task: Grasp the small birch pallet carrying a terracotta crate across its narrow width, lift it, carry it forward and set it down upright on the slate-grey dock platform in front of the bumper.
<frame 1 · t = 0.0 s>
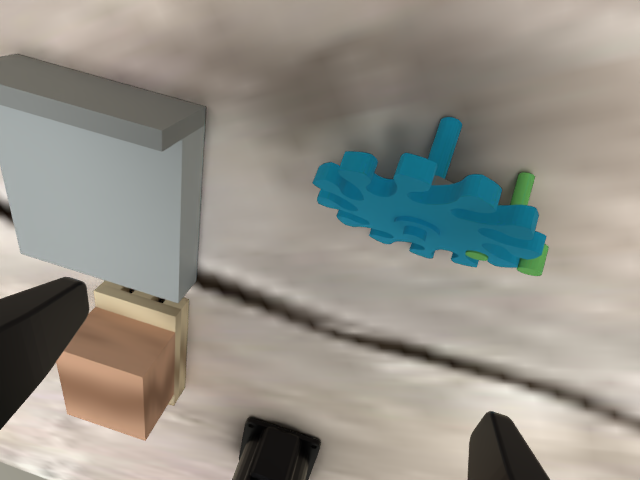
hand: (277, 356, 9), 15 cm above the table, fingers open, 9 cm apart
loaded pallet: (151, 334, 33), on the table
gear: (430, 186, 22), on the table
dock: (117, 187, 26), on the table
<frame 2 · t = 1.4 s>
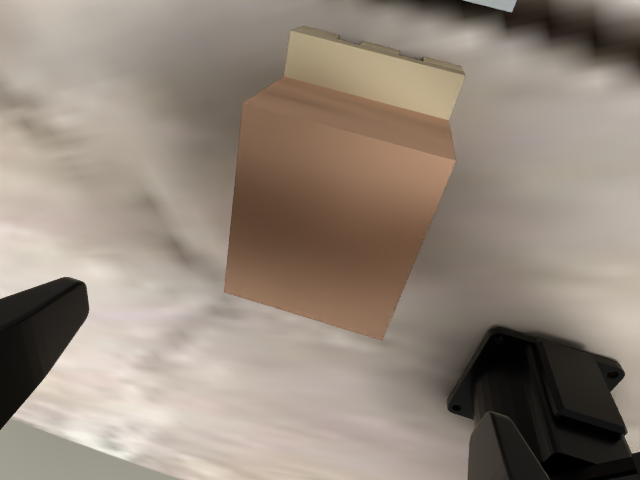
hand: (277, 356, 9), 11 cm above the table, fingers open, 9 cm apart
loaded pallet: (349, 167, 18), on the table
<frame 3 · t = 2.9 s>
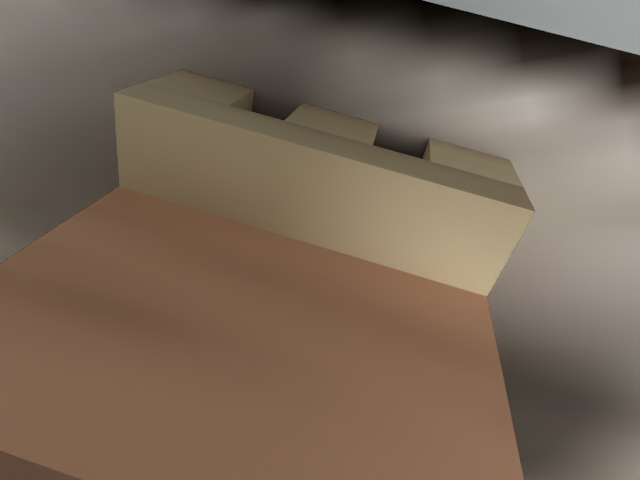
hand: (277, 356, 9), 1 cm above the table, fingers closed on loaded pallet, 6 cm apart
loaded pallet: (293, 316, 10), on the table, touching gripper
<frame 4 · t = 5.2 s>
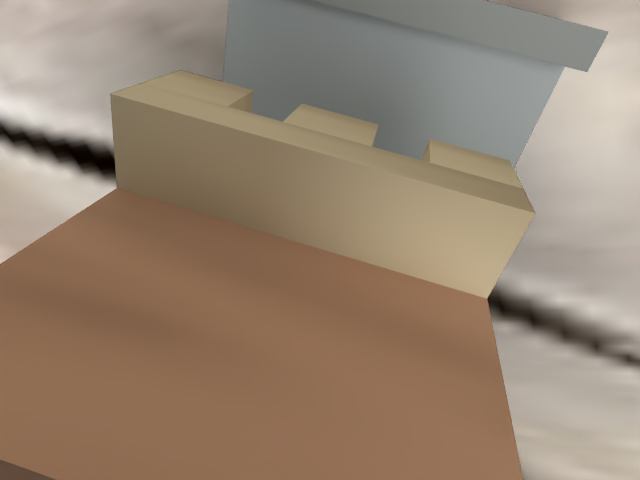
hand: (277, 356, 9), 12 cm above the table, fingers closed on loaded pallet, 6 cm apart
loaded pallet: (292, 317, 10), point 10 cm above the table, touching gripper
dock: (359, 152, 18), on the table
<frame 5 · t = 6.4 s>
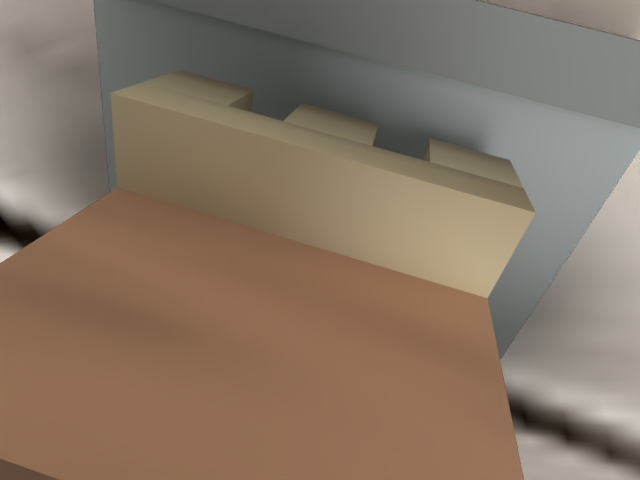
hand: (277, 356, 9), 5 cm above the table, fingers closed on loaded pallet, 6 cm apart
loaded pallet: (292, 317, 10), point 4 cm above the table, touching gripper
dock: (326, 222, 13), on the table
when the fingers open (5 cm above the table, at t = 7.2 s): loaded pallet drops 1 cm, resting on dock.
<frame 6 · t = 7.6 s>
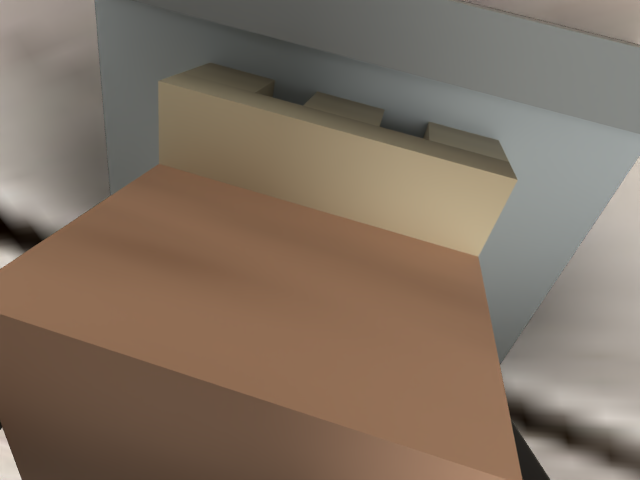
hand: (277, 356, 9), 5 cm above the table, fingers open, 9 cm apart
loaded pallet: (305, 288, 11), point 2 cm above the table, touching dock
dock: (327, 225, 13), on the table
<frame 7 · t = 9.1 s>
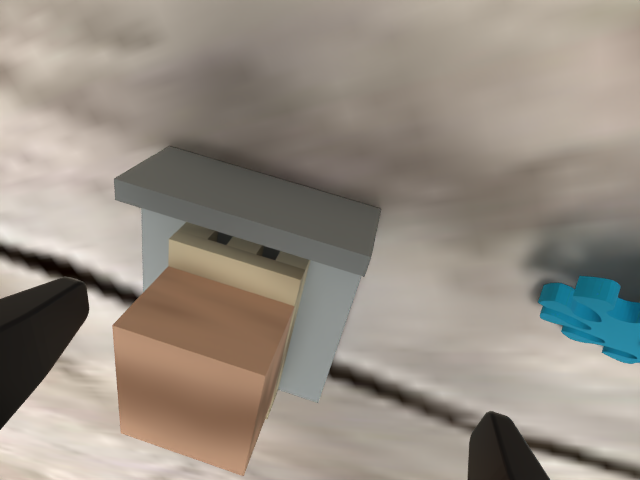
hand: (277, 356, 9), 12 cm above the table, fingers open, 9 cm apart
loaded pallet: (239, 313, 22), point 2 cm above the table, touching dock
dock: (256, 278, 24), on the table
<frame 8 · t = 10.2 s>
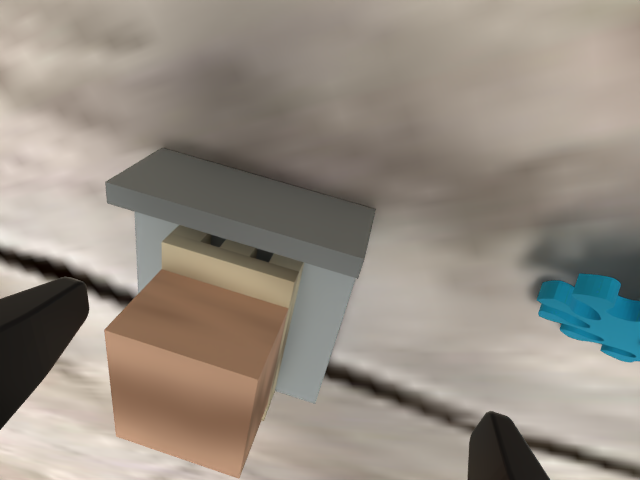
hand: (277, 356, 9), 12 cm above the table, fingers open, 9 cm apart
loaded pallet: (234, 315, 22), point 2 cm above the table, touching dock
dock: (251, 279, 24), on the table
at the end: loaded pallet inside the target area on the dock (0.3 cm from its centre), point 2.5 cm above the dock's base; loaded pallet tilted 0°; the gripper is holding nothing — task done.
